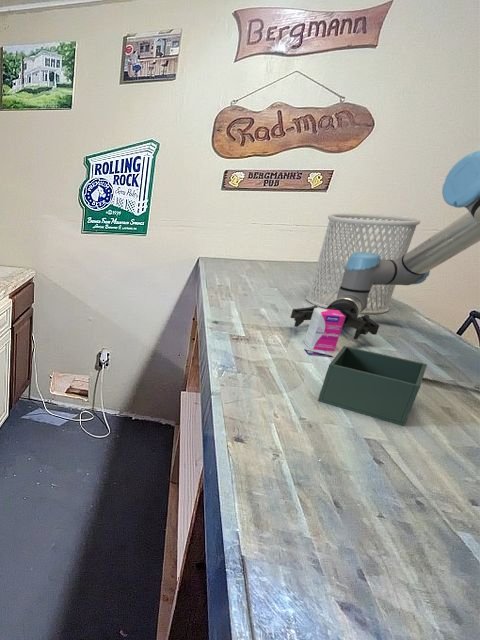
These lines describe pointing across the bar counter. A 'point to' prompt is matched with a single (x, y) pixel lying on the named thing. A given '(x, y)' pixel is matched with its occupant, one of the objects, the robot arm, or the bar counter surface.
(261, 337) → the bar counter surface
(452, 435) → the bar counter surface
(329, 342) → the supplement box
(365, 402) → the bin
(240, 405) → the bar counter surface
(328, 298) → the wastebasket
